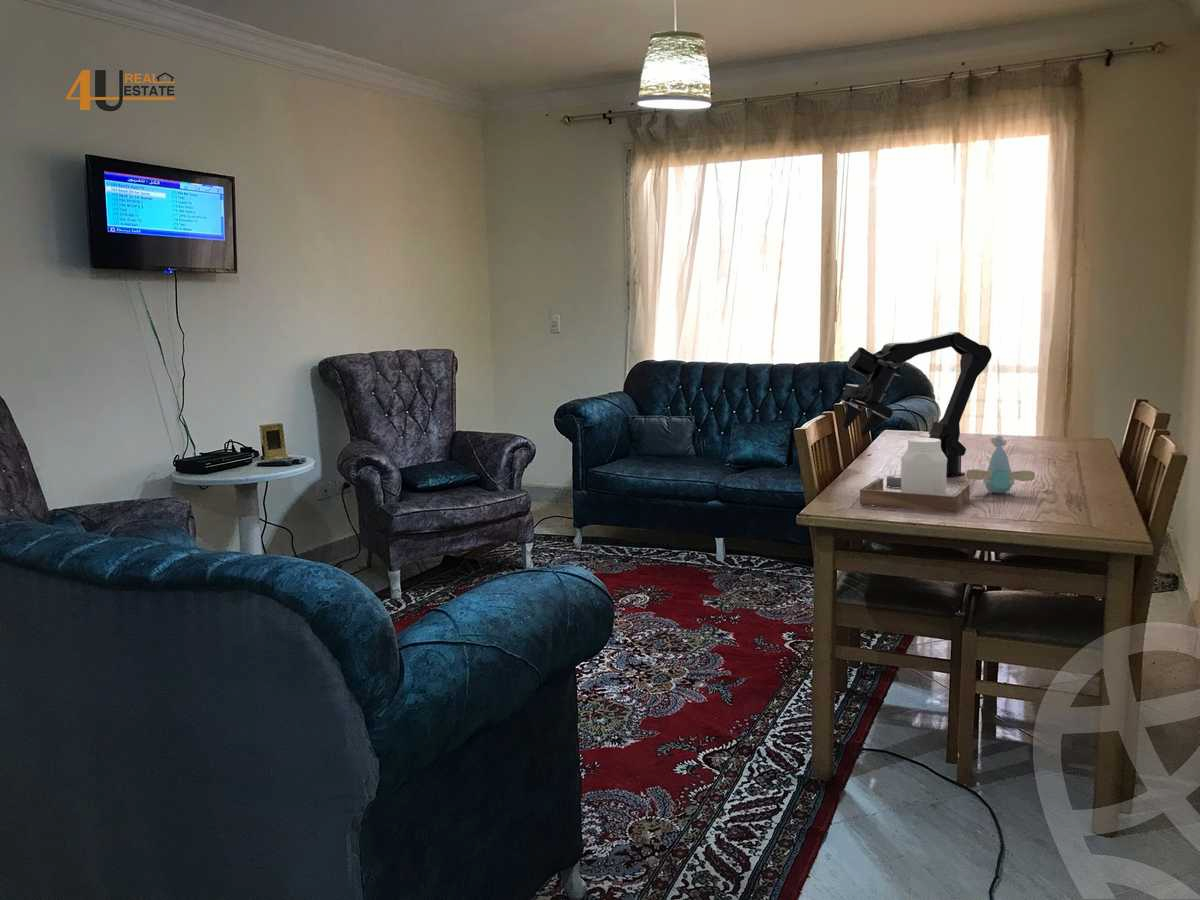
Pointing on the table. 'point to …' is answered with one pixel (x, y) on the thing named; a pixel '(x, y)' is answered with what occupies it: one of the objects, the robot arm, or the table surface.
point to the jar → (924, 467)
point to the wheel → (894, 481)
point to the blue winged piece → (999, 470)
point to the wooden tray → (913, 498)
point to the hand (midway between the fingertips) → (853, 431)
